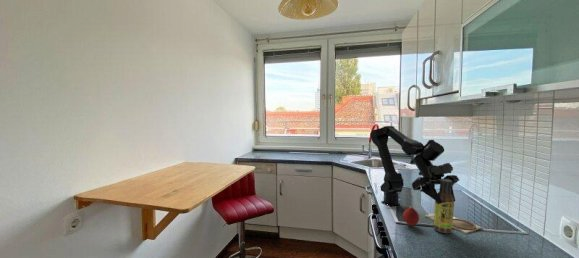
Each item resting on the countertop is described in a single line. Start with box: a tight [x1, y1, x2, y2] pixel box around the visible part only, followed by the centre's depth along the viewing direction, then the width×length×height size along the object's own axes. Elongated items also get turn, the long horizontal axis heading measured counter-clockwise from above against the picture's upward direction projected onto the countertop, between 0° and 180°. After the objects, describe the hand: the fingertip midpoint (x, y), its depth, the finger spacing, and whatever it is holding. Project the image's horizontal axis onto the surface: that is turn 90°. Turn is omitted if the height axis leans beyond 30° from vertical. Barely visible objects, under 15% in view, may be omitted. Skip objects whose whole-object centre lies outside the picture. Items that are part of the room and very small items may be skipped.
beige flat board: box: [424, 213, 483, 234], centre depth 106 cm, size 17×10×1 cm, turn 24°
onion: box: [402, 206, 420, 227], centre depth 102 cm, size 6×6×8 cm
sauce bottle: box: [433, 178, 455, 234], centre depth 97 cm, size 6×6×20 cm
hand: (447, 202), depth 96 cm, fingers closed on sauce bottle, 6 cm apart
